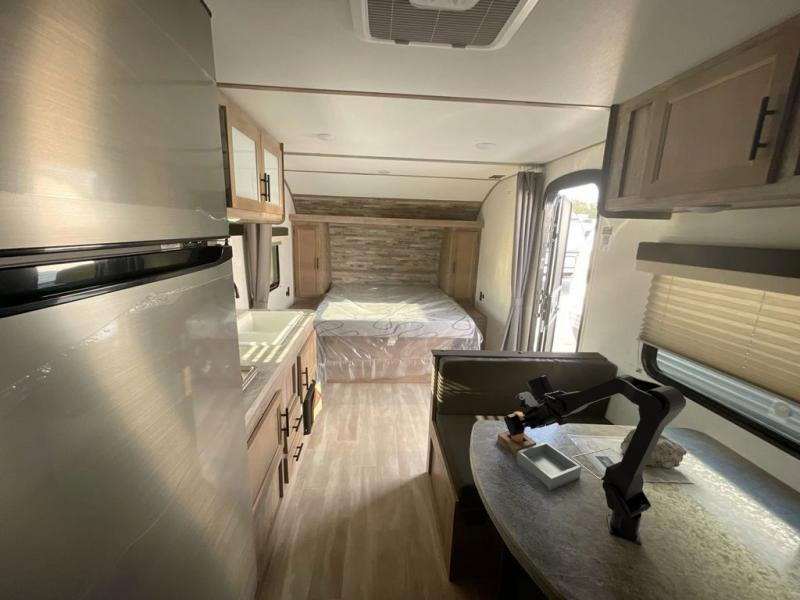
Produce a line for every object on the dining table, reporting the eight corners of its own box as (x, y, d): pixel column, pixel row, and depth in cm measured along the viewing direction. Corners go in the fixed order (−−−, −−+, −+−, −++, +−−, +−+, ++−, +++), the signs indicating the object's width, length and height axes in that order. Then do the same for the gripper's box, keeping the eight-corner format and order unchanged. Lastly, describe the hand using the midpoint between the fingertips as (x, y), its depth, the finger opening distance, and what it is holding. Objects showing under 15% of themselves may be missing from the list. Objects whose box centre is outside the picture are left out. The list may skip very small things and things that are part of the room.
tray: (579, 478, 97) (581, 466, 97) (549, 490, 92) (551, 478, 91) (544, 452, 109) (545, 441, 108) (516, 462, 103) (517, 451, 103)
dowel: (521, 450, 109) (525, 418, 107) (509, 447, 111) (513, 415, 109) (522, 444, 113) (526, 413, 111) (510, 441, 114) (514, 410, 112)
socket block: (535, 450, 110) (536, 442, 109) (516, 456, 106) (517, 448, 105) (516, 435, 118) (516, 428, 117) (497, 441, 114) (498, 433, 113)
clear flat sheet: (571, 456, 107) (609, 447, 113) (570, 458, 107) (609, 448, 113) (599, 479, 97) (640, 467, 103) (599, 480, 97) (640, 469, 103)
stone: (698, 460, 98) (652, 451, 98) (670, 478, 106) (627, 470, 105) (679, 432, 106) (636, 423, 105) (654, 451, 113) (614, 443, 113)
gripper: (552, 384, 108) (523, 399, 120) (511, 393, 100) (484, 408, 112) (570, 417, 102) (538, 429, 114) (527, 430, 95) (498, 442, 106)
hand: (515, 426), depth 112 cm, fingers open, 6 cm apart
